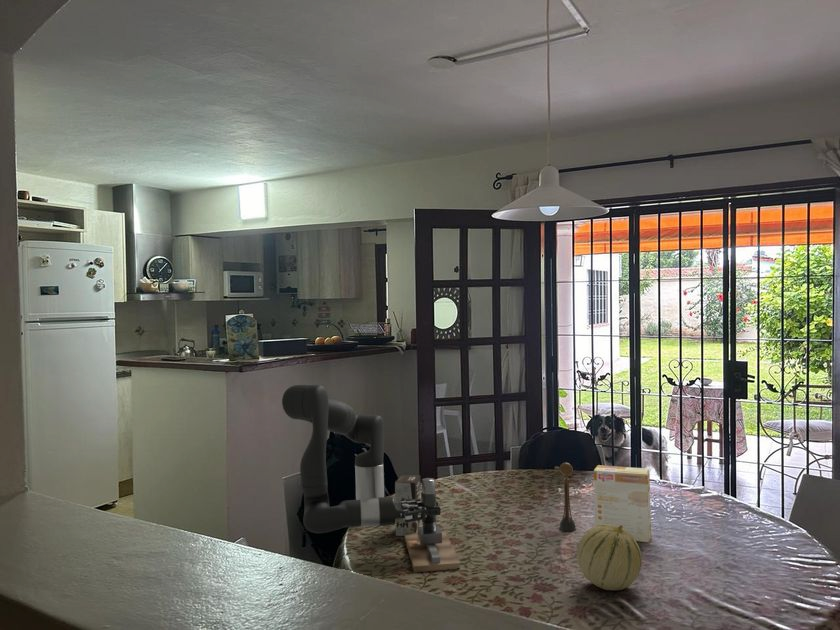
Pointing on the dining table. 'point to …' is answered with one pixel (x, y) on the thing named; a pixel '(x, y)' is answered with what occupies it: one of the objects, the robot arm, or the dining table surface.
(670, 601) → the dining table surface
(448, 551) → the press bench
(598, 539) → the cantaloupe
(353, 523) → the robot arm
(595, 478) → the coffeecake box
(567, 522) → the wooden tabletop sculpture
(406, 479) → the coffee box
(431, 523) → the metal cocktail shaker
